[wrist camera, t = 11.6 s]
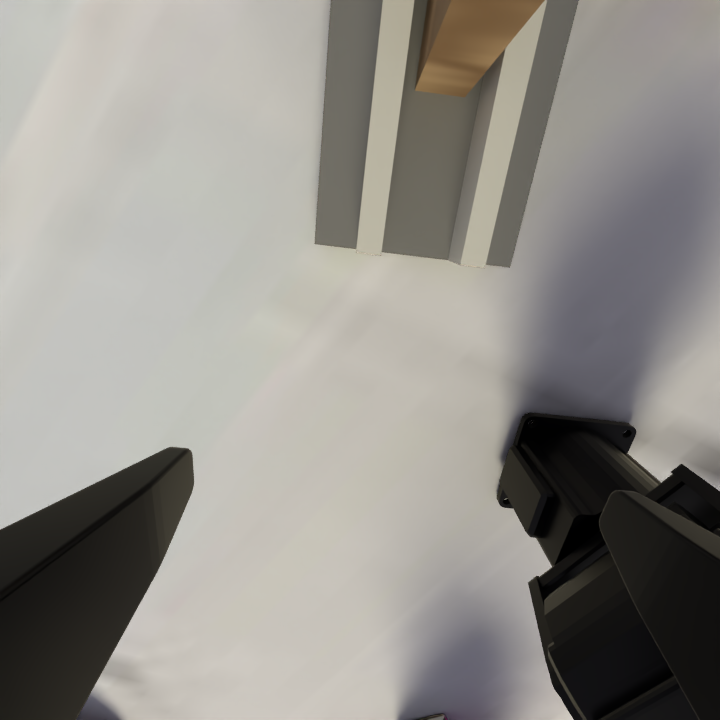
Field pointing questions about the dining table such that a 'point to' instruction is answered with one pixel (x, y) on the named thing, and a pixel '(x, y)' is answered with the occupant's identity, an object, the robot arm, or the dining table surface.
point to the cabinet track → (431, 137)
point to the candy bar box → (435, 717)
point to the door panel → (466, 41)
